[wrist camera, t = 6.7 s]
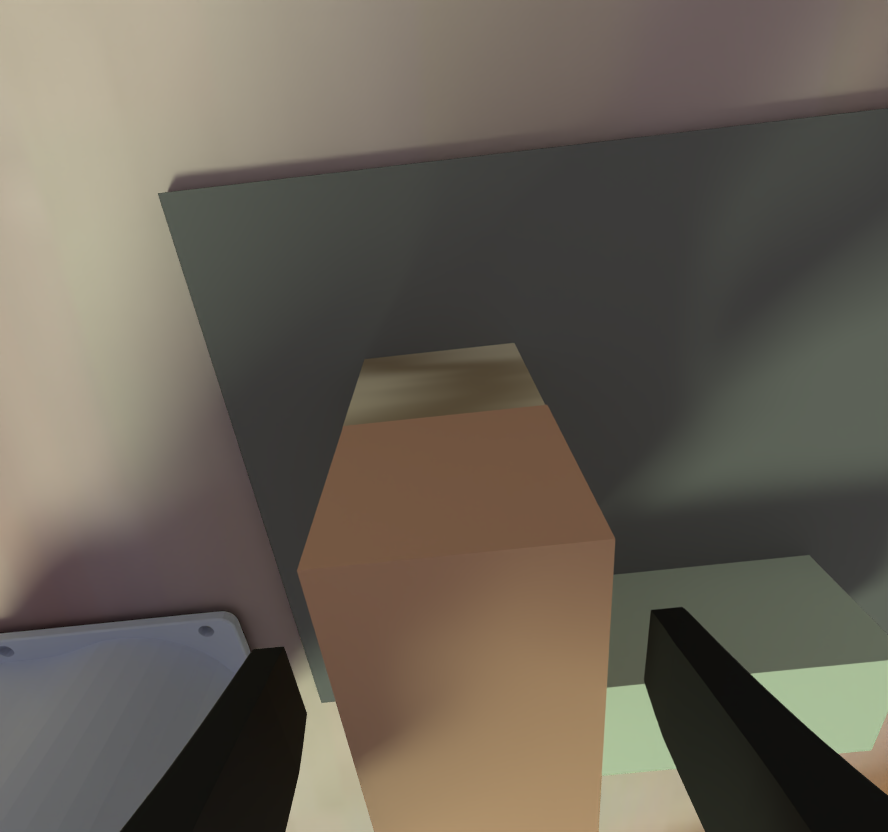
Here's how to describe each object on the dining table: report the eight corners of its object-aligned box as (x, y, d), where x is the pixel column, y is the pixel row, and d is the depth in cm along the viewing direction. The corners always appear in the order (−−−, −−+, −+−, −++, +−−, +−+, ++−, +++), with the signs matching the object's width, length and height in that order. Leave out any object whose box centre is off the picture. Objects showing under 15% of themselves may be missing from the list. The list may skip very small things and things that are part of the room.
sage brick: (542, 663, 19) (569, 778, 15) (540, 582, 17) (569, 691, 14) (786, 639, 19) (871, 750, 15) (809, 554, 17) (911, 658, 14)
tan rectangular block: (404, 718, 14) (397, 909, 10) (343, 425, 10) (296, 570, 6) (551, 704, 14) (595, 892, 10) (547, 404, 10) (615, 539, 6)
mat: (323, 693, 20) (321, 702, 20) (165, 192, 12) (157, 193, 12) (999, 627, 20) (1010, 635, 19) (1292, 61, 12) (1319, 57, 11)
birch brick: (409, 606, 18) (405, 719, 14) (364, 359, 14) (342, 427, 10) (525, 594, 18) (551, 705, 14) (514, 342, 14) (545, 406, 10)
